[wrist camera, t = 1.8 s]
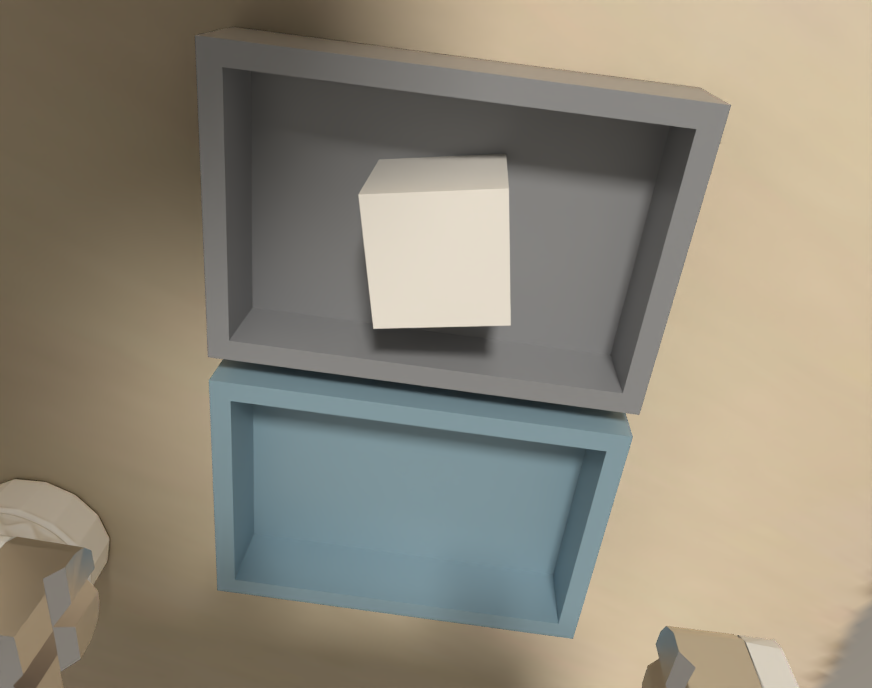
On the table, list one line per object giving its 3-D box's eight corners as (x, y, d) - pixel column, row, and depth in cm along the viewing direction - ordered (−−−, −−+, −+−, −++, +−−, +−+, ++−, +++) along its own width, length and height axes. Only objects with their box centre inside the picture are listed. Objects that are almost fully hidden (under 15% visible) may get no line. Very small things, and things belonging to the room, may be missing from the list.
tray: (232, 26, 24) (195, 34, 21) (700, 87, 24) (731, 105, 21) (237, 316, 29) (207, 357, 26) (623, 367, 29) (639, 414, 26)
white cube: (379, 159, 25) (358, 194, 22) (506, 153, 25) (509, 188, 21) (390, 276, 28) (373, 328, 24) (508, 273, 27) (510, 325, 23)
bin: (238, 337, 30) (208, 380, 27) (617, 388, 30) (632, 436, 27) (241, 535, 35) (217, 590, 32) (565, 579, 35) (573, 638, 32)
